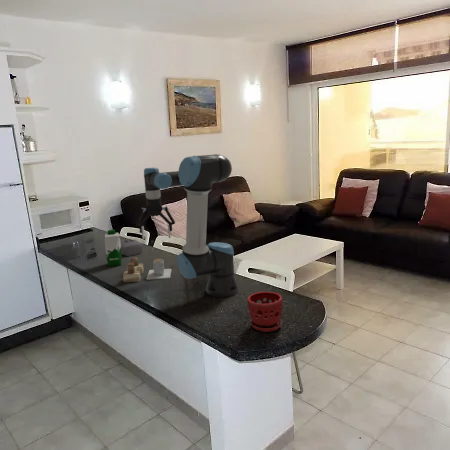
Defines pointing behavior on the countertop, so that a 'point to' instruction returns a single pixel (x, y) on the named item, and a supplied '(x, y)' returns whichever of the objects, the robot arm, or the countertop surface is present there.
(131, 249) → the small grey backpack
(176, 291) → the countertop surface
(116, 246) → the milk carton
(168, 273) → the mat
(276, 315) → the plant pot
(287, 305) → the countertop surface
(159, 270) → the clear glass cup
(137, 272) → the plane body
